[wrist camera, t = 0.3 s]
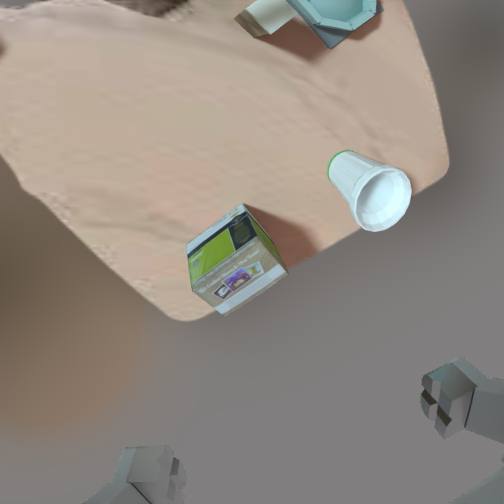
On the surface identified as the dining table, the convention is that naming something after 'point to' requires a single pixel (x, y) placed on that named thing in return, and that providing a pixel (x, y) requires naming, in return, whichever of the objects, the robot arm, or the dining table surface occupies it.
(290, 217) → the dining table surface
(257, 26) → the lidded brown carton
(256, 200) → the dining table surface
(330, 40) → the place mat
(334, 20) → the bowl
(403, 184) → the cup
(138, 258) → the dining table surface
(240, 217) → the tea box
